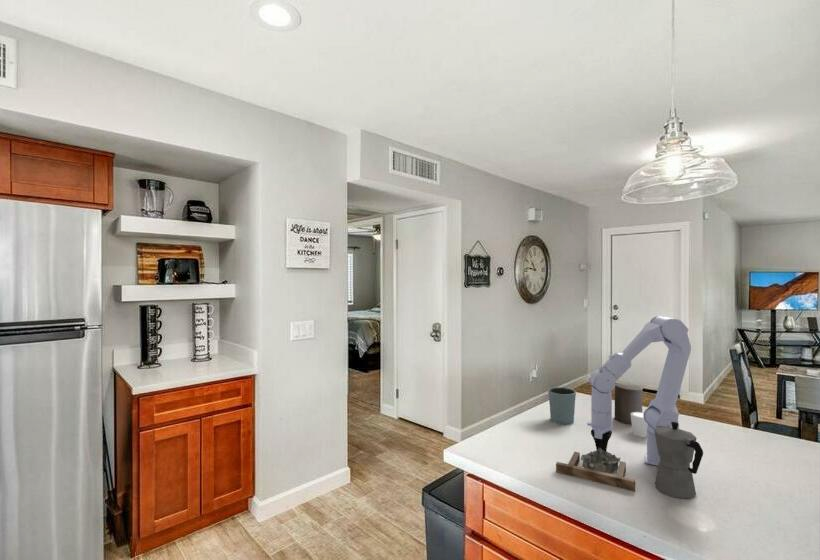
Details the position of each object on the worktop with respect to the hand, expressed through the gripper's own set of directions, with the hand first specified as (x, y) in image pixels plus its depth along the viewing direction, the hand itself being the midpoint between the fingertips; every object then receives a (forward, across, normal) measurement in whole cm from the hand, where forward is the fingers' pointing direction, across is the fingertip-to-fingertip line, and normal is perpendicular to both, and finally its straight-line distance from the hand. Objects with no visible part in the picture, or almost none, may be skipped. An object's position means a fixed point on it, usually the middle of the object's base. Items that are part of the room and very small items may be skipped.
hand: (601, 454), depth 126 cm
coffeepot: (+2, +11, +20) cm, 22 cm away
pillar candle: (+2, -42, +4) cm, 42 cm away
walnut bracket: (+1, +11, 0) cm, 11 cm away
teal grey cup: (+2, -28, -18) cm, 33 cm away
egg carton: (+2, +7, 0) cm, 7 cm away
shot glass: (+2, -29, +9) cm, 31 cm away
